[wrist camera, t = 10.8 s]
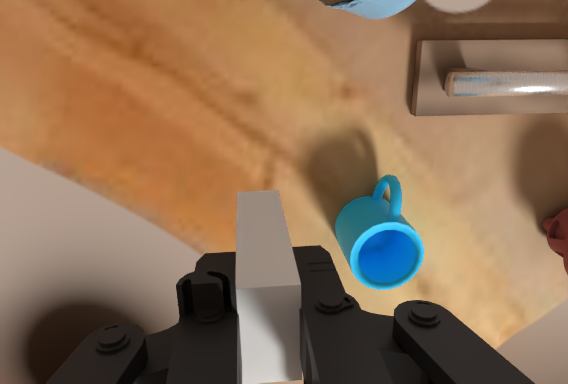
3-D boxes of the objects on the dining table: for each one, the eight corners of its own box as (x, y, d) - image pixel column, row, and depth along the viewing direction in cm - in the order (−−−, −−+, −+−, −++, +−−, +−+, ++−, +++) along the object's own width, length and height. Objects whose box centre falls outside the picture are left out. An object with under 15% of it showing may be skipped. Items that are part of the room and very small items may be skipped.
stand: (417, 40, 48) (439, 41, 43) (687, 37, 51) (740, 38, 46) (410, 113, 51) (431, 123, 46) (667, 107, 54) (715, 116, 48)
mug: (389, 258, 57) (412, 293, 50) (328, 251, 56) (342, 286, 48) (414, 170, 54) (443, 193, 46) (349, 160, 52) (368, 182, 45)
